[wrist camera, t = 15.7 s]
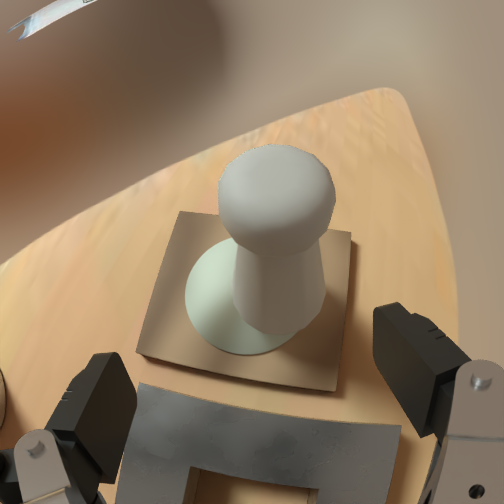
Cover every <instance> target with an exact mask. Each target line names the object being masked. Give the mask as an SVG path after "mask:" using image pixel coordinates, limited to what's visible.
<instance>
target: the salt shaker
mask: <svg viewBox="0 0 504 504" xmlns="http://www.w3.org/2000/svg"><path fill="white" fill-rule="evenodd" d="M335 202H336V194H335V187H334V184H333V181H332V178H331V175H330V172H329V170H328V169H327V168H326V167H325V166H324V165H323V164H322V163H321V162H320V161H319V160H318V159H317V158H316V157H315V156H314V155H313V154H310V153H308V152H305V151H303V150H300V149H298V148H295V147H293V146H289V145H273V144H268V145H264V146H261V147H257V148H254V149H250V150H248V151H246V152H244V153H243V154H241V155H240V156H239V157H237V158H236V159H234V160H233V161H232V162H230V163H229V164H228V165H227V167H226V169H225V171H224V172H223V174H222V176H221V178H220V180H219V182H218V203H219V216H220V219H221V221H222V224H223V225H224V227H225V228H226V230H227V231H228V232H229V234H230V235H231V237H232V238H233V240H234V241H235V242H236V243H237V251H236V258H235V266H234V273H233V281H232V291H233V304H234V306H235V307H236V309H237V310H238V312H239V314H240V315H241V317H242V318H243V320H244V321H245V322H246V323H247V324H249V325H250V326H252V327H254V328H255V329H257V330H259V331H260V332H262V333H263V334H274V335H287V334H290V333H292V332H295V331H298V330H301V329H304V328H305V327H306V326H307V325H308V324H309V323H310V322H311V321H312V320H313V319H314V318H315V317H316V316H317V315H318V313H319V312H320V310H321V307H322V304H323V301H324V298H325V295H326V287H325V280H324V272H323V265H322V258H321V251H320V245H319V238H320V237H321V236H322V235H323V234H324V233H325V232H326V231H327V228H328V226H329V223H330V220H331V216H332V213H333V209H334V206H335Z"/></svg>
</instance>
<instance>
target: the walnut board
mask: <svg viewBox="0 0 504 504" xmlns="http://www.w3.org/2000/svg"><path fill="white" fill-rule="evenodd" d="M319 245H320V251H321V258H322V265H323V272H324V280H325V287H326V295H325V298H324V301H323V304H322V307H321V310H320V312H319V313H318V315H317V316H316V317H315V318H314V319H313V320H312V321H311V322H310V323H309V324H308V325H307V326H306V327H305V328H304V329H301V330H298V331H295V332H292V333H290V334H287V335H274V334H263V333H262V332H260V331H259V330H257V329H255V328H254V327H252V326H250V325H249V324H247V323H246V322H245V321H244V320H243V318H242V317H241V315H240V314H239V312H238V310H237V309H236V307H235V306H234V304H233V291H232V281H233V273H234V266H235V258H236V251H237V243H236V242H235V241H234V240H233V238H232V237H231V235H230V234H229V232H228V231H227V230H226V228H225V227H224V225H223V224H222V221H221V219H220V216H219V215H212V214H203V213H193V212H184V211H180V212H179V215H178V217H177V220H176V223H175V226H174V229H173V232H172V235H171V237H170V240H169V243H168V246H167V249H166V252H165V255H164V258H163V261H162V264H161V267H160V270H159V274H158V277H157V280H156V283H155V286H154V290H153V293H152V296H151V299H150V303H149V306H148V309H147V313H146V316H145V320H144V323H143V327H142V330H141V334H140V337H139V341H138V345H137V348H136V353H138V354H141V355H144V356H147V357H151V358H155V359H158V360H162V361H166V362H170V363H174V364H178V365H182V366H186V367H190V368H194V369H199V370H203V371H208V372H212V373H217V374H222V375H227V376H232V377H237V378H242V379H247V380H253V381H258V382H264V383H270V384H276V385H283V386H290V387H297V388H304V389H312V390H320V391H328V392H335V391H336V386H337V379H338V372H339V365H340V357H341V350H342V341H343V333H344V324H345V314H346V303H347V292H348V279H349V265H350V249H351V232H346V231H339V230H332V229H327V231H326V232H325V233H324V234H323V235H322V236H321V237H320V238H319Z"/></svg>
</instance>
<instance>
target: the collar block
mask: <svg viewBox="0 0 504 504" xmlns="http://www.w3.org/2000/svg"><path fill="white" fill-rule="evenodd" d="M401 426H402V425H391V424H376V423H358V422H345V421H334V420H324V419H314V418H306V417H298V416H291V415H284V414H278V413H271V412H265V411H260V410H254V409H249V408H243V407H238V406H233V405H228V404H224V403H219V402H215V401H210V400H206V399H202V398H198V397H193V396H189V395H186V394H182V393H178V392H174V391H171V390H167V389H163V388H160V387H156V386H152V385H148V384H144V383H140V382H139V386H138V390H137V409H136V412H135V415H134V418H133V421H132V425H131V428H130V431H129V435H128V438H127V441H126V445H125V449H124V454H123V460H122V465H121V470H120V476H119V481H118V487H117V493H116V499H115V504H194V499H195V494H196V490H197V485H198V480H199V476H200V471H201V469H204V470H208V471H212V472H216V473H221V474H225V475H229V476H234V477H239V478H244V479H249V480H255V481H261V482H267V483H273V484H280V485H288V486H296V487H305V488H311V489H310V493H309V497H308V501H307V504H385V503H386V499H387V495H388V491H389V487H390V483H391V479H392V474H393V469H394V465H395V460H396V455H397V449H398V444H399V438H400V432H401Z"/></svg>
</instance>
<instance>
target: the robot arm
mask: <svg viewBox="0 0 504 504" xmlns="http://www.w3.org/2000/svg"><path fill="white" fill-rule="evenodd" d="M373 357H374V361H375V364H376V366H377V368H378V370H379V371H380V373H381V374H382V376H383V378H384V379H385V381H386V382H387V384H388V386H389V387H390V389H391V390H392V392H393V394H394V395H395V397H396V399H397V400H398V402H399V403H400V405H401V407H402V408H403V410H404V412H405V413H406V415H407V417H408V418H409V420H410V421H411V423H412V425H413V426H414V428H415V430H416V431H417V433H418V435H419V436H420V438H423V437H425V436H428V435H430V434H432V433H434V434H435V436H436V437H437V442H436V445H435V449H434V452H433V456H432V460H431V464H430V467H429V471H428V474H427V477H426V481H425V484H424V487H423V490H422V493H421V496H420V499H419V501H418V504H504V370H503V368H502V367H500V366H499V365H498V364H496V363H494V362H491V361H487V360H473V361H472V360H471V359H470V358H469V357H468V356H467V355H466V354H465V353H464V352H463V351H462V350H461V349H460V348H459V347H458V346H457V345H456V344H455V343H454V342H453V341H452V340H451V339H450V338H449V337H448V336H447V337H446V334H445V333H443V332H442V331H441V330H440V329H438V327H437V326H436V325H435V324H434V323H433V322H432V321H431V320H430V319H428V318H426V317H424V316H421V315H419V314H417V313H414V314H410V313H409V312H408V311H407V310H406V309H405V308H404V307H403V306H402V305H401V304H400V303H399V302H395V303H391V304H387V305H383V306H380V307H376V308H375V309H374V311H373ZM66 390H67V392H65V393H64V395H63V396H62V398H61V399H62V400H60V401H59V403H58V405H57V407H56V408H55V410H54V412H53V414H52V416H51V417H50V419H49V421H48V423H47V425H46V426H45V428H44V429H38V430H33V431H30V432H28V433H27V434H25V435H24V436H22V437H21V438H20V439H19V440H18V442H17V443H16V445H15V448H14V449H6V450H0V502H1V503H2V504H107V503H106V502H105V500H104V498H103V496H102V494H101V493H100V492H99V491H98V487H99V483H107V484H115V480H116V477H117V473H118V469H119V466H120V462H121V459H122V455H123V452H124V448H125V445H126V441H127V438H128V435H129V431H130V428H131V425H132V421H133V418H134V415H135V412H136V409H137V394H136V390H135V388H134V386H133V384H132V381H131V379H130V377H129V375H128V373H127V370H126V368H125V366H124V364H123V361H122V359H121V357H120V355H119V354H118V353H116V352H110V353H99V354H94V355H93V356H92V358H91V359H90V361H89V363H88V365H87V366H86V368H85V369H83V370H82V371H81V372H80V373H79V374H78V375H77V376H75V377H74V378H73V379H72V381H71V383H70V384H69V386H68V388H67V389H66ZM5 405H6V402H5V388H4V382H3V379H2V375H1V372H0V427H1V425H2V423H3V419H4V415H5Z"/></svg>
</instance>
